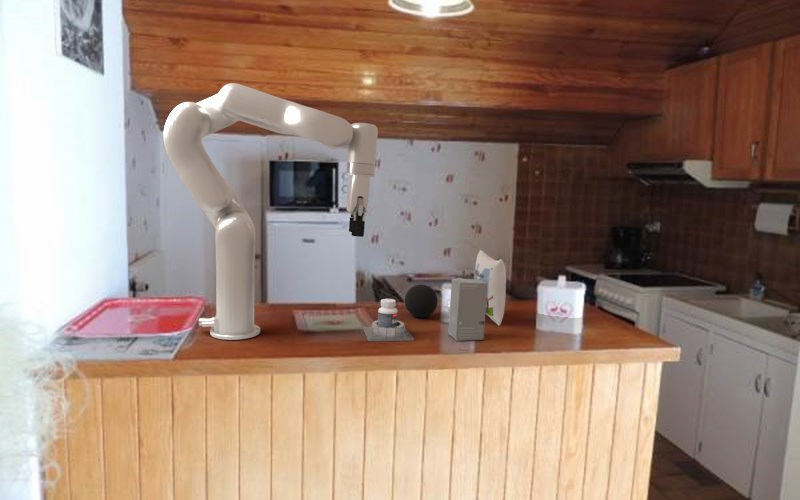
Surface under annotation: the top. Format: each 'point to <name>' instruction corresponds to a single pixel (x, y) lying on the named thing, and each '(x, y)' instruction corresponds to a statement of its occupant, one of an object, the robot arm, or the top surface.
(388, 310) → the pill bottle
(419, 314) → the speaker
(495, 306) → the pouch
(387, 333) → the plate
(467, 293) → the skincare box
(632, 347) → the top surface
